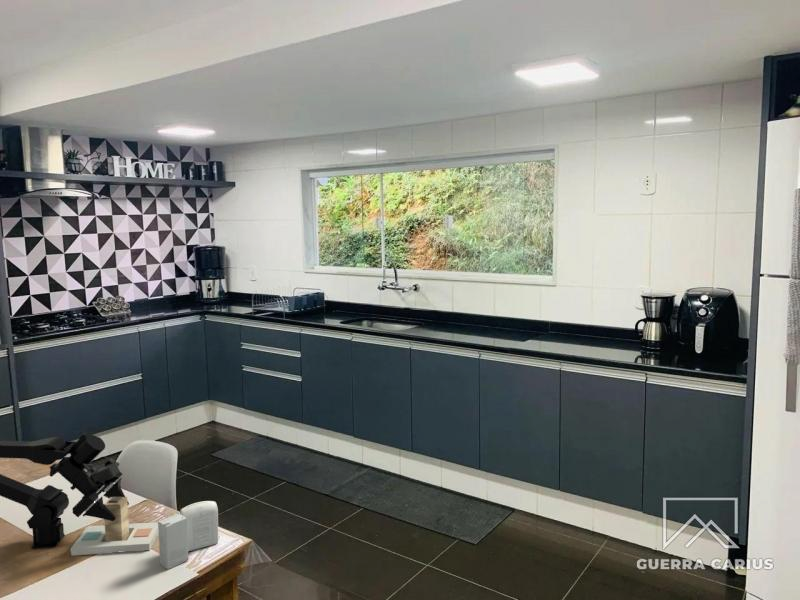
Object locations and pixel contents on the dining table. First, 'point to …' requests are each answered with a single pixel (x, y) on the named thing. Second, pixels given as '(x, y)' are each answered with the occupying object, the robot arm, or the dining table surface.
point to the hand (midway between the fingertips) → (121, 512)
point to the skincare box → (173, 541)
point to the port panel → (95, 541)
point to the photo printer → (201, 524)
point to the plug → (117, 520)
